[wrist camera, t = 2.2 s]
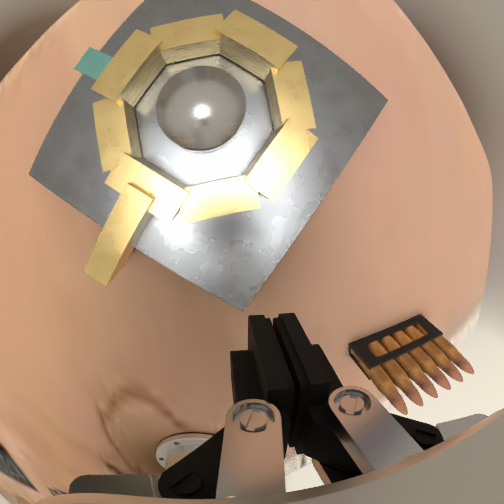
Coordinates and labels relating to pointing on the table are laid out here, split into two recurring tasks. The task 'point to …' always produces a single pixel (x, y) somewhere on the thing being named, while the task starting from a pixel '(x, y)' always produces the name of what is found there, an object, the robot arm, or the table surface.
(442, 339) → the ammunition clip
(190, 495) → the robot arm
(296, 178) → the housing
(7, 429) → the table surface
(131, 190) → the ring nut
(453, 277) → the table surface
